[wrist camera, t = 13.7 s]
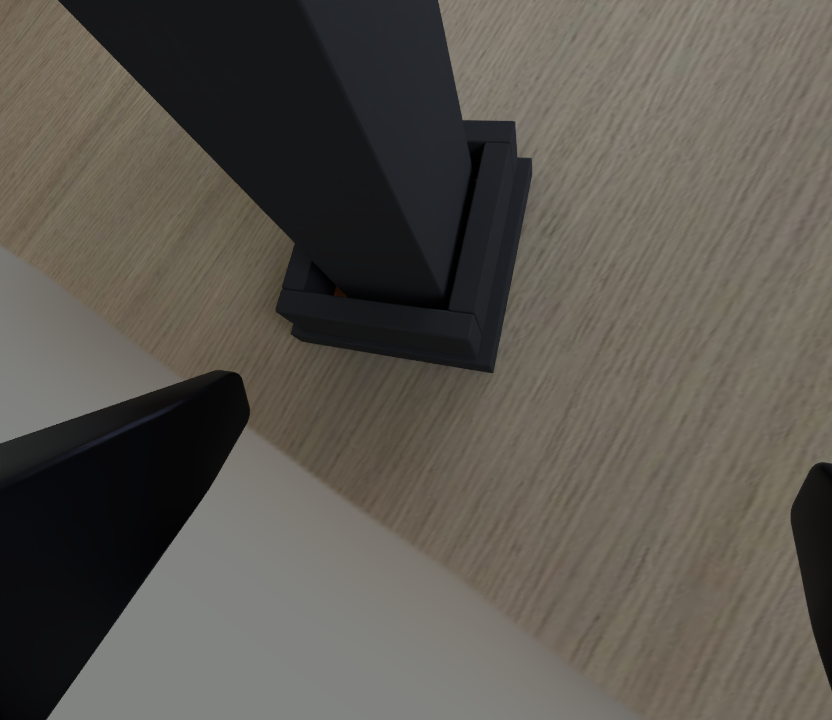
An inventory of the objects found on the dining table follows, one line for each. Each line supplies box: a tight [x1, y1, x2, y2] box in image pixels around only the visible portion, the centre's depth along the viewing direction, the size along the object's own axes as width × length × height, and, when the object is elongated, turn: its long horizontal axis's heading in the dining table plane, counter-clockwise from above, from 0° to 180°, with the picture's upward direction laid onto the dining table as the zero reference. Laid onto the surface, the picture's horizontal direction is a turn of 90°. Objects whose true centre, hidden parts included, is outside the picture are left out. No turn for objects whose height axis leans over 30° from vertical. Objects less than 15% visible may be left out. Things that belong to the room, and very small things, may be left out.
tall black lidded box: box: [58, 0, 476, 311], centre depth 12 cm, size 5×4×14 cm
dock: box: [276, 120, 532, 373], centre depth 18 cm, size 8×8×3 cm
